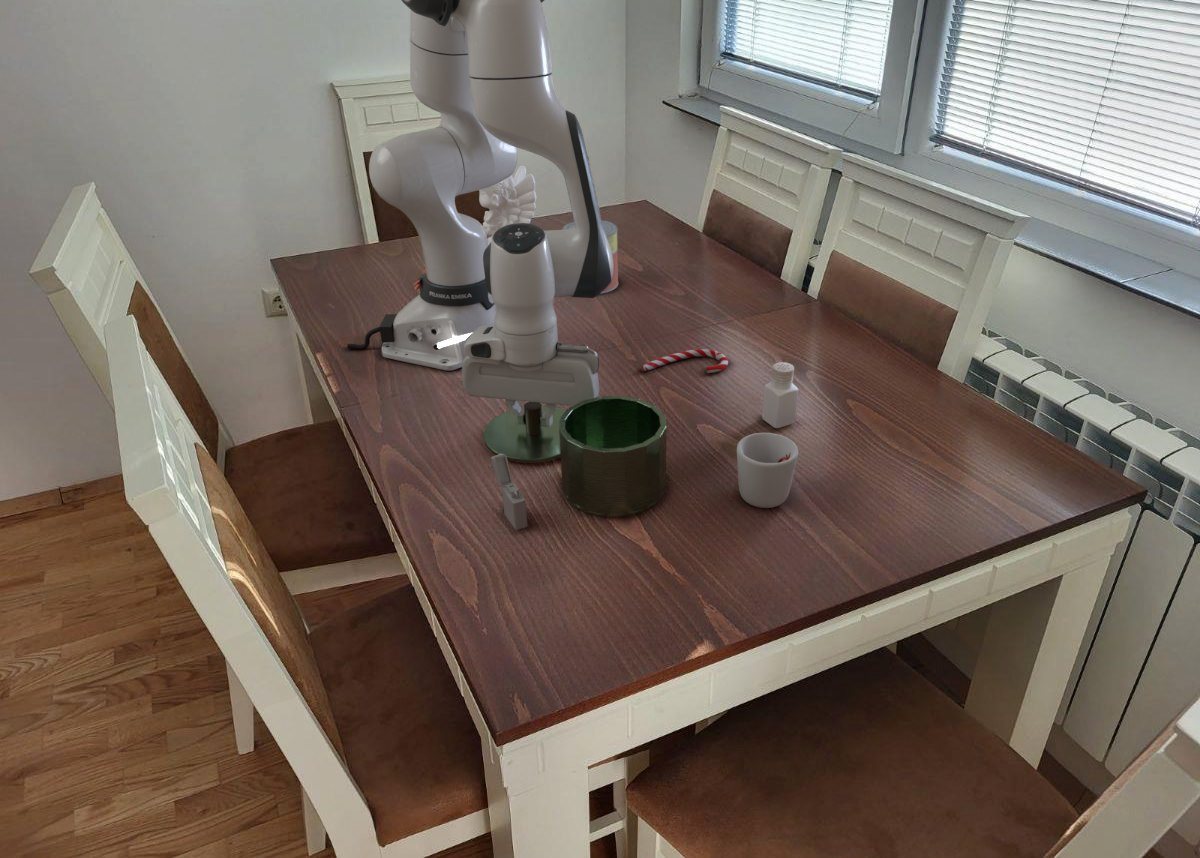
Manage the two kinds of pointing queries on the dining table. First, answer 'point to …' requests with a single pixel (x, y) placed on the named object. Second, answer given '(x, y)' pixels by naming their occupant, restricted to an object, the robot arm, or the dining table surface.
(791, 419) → the pepper shaker
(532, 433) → the tin lid
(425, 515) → the dining table surface
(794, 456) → the cup
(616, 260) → the canned food
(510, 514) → the lighter
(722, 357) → the candy cane
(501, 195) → the cherub figurine
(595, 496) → the tin
